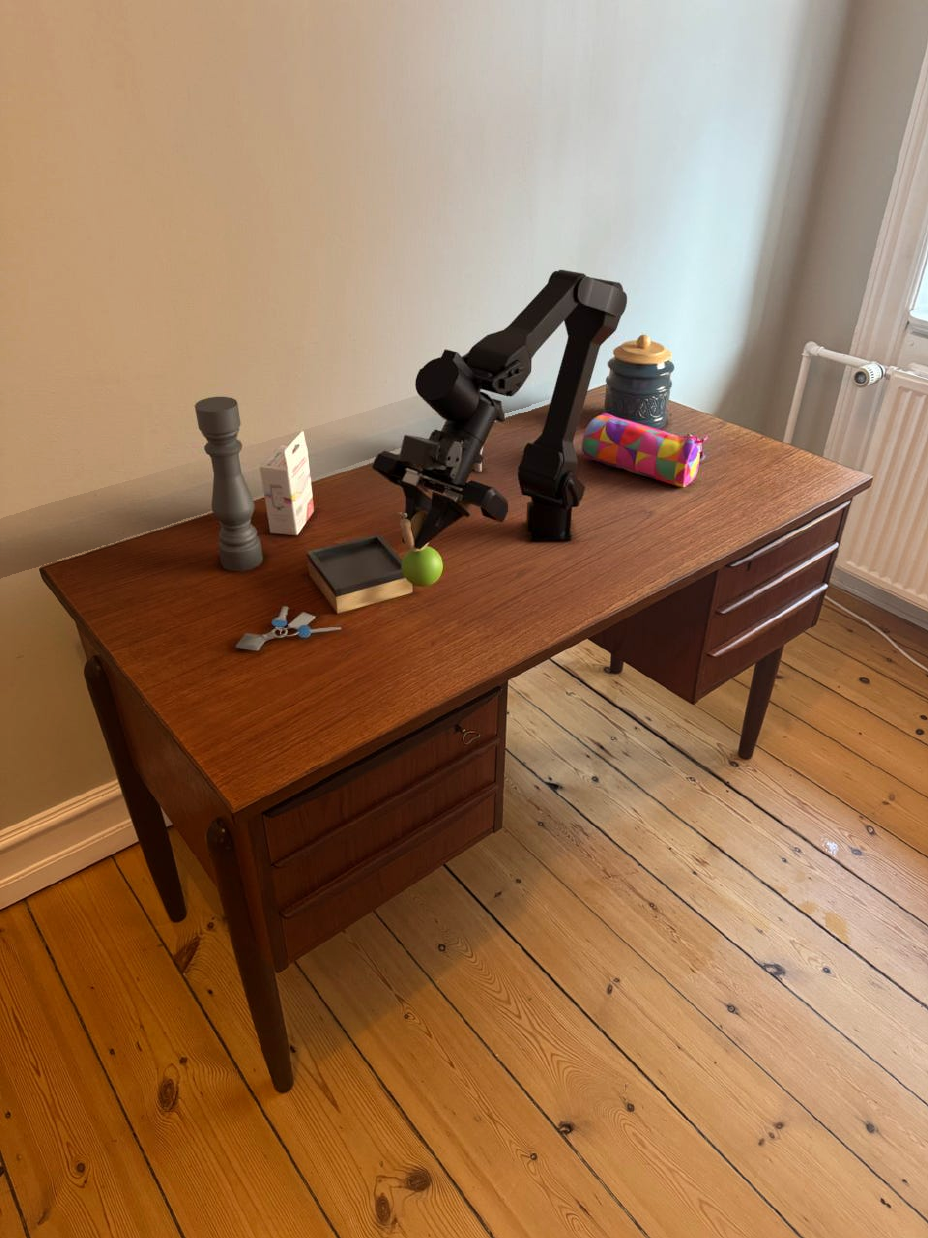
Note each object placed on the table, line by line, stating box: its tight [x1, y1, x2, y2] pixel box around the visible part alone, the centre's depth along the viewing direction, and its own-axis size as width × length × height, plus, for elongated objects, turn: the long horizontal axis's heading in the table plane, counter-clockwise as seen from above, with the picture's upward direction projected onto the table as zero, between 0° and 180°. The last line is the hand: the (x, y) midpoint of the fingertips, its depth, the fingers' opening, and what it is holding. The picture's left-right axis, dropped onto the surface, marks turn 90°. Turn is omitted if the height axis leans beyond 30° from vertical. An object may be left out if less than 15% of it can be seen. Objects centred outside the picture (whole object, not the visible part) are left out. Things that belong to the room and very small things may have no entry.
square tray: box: [306, 533, 413, 614], centre depth 128 cm, size 12×12×4 cm
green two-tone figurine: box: [397, 511, 444, 588], centre depth 113 cm, size 5×6×12 cm
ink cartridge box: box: [258, 430, 315, 536], centre depth 140 cm, size 9×5×15 cm, turn 168°
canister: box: [602, 334, 675, 430], centre depth 174 cm, size 13×13×18 cm
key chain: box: [235, 605, 342, 652], centre depth 119 cm, size 14×8×1 cm, turn 114°
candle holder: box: [194, 396, 264, 572], centre depth 127 cm, size 6×6×25 cm
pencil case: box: [581, 412, 709, 488], centre depth 157 cm, size 22×9×9 cm, turn 58°
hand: (410, 545), depth 112 cm, fingers closed on green two-tone figurine
